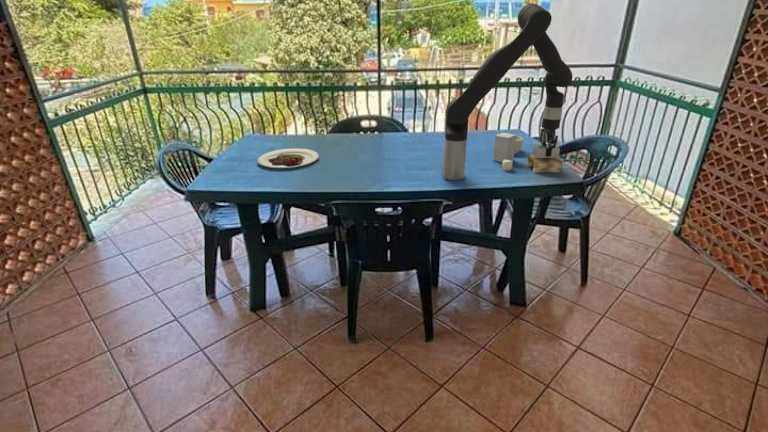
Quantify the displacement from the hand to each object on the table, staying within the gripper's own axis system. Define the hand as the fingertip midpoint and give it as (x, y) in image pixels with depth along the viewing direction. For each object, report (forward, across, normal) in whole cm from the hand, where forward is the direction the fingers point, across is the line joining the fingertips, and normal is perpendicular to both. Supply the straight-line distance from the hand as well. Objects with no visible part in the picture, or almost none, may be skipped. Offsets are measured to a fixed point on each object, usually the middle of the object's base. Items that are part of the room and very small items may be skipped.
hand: (545, 154), depth 186 cm
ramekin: (+7, +28, +8) cm, 30 cm away
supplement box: (+7, +13, +15) cm, 21 cm away
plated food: (+8, +20, +121) cm, 123 cm away
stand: (+7, 0, 0) cm, 7 cm away
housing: (+1, 0, 0) cm, 1 cm away
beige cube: (+7, 0, +17) cm, 18 cm away
